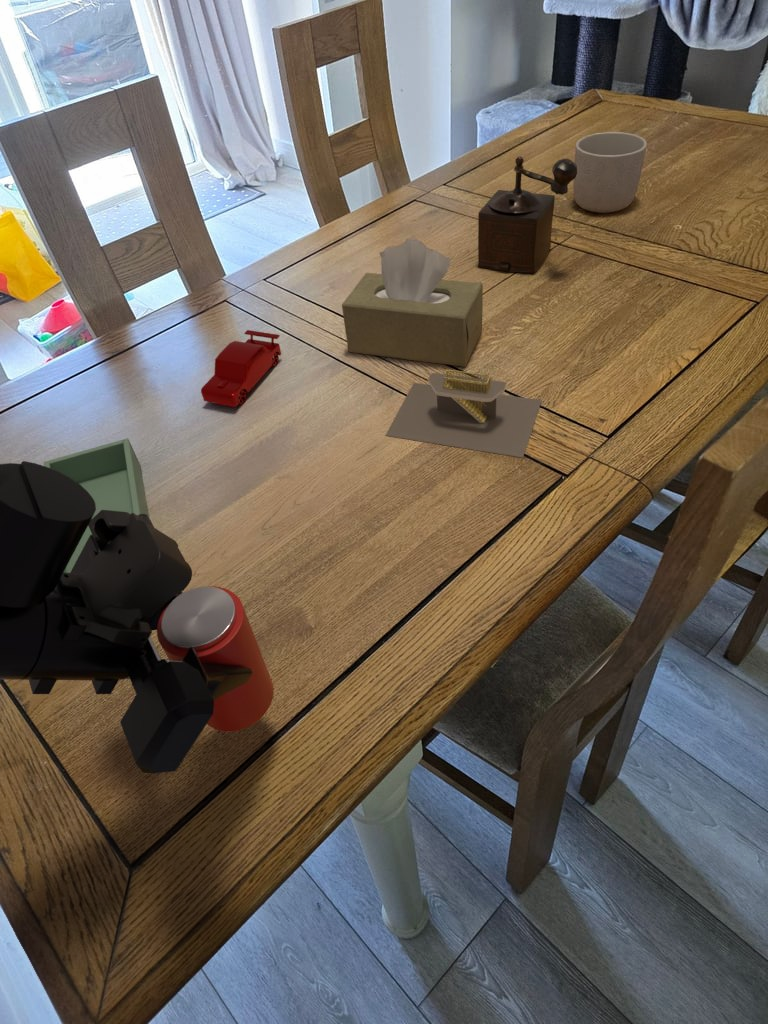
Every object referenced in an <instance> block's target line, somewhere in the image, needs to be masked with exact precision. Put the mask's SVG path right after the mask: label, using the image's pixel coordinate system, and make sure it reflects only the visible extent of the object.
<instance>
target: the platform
mask: <svg viewBox="0 0 768 1024" xmlns="http://www.w3.org/2000/svg"><path fill="white" fill-rule="evenodd" d="M491 377H492V376H491V374H484V373H478V372H470V371H462V370H454V369H445V373H438V372H431V373H430V374H429V376H428V379H427V381H428V382H427V383H428V384H425V383H419V382H413V383H412V385H411V388H410V389H409V391H408V393H407V395H406V396H405V398H404V400H403V401H402V404H401V406H400V407H399V410H398V411H397V413H396V415H395V417H394V419H393V420H392V422H391V424H390V426H389V428H388V430H387V431H386V434H385V436H387V437H392V438H399V439H404V440H411V441H416V442H422V443H423V442H424V443H430V444H436V445H442V446H447V447H454V448H462V449H467V450H472V451H480V452H485V453H491V454H498V455H504V456H509V457H515V458H516V457H517V458H522V459H523V458H524V456H525V453H526V450H527V447H528V445H529V441H530V438H531V435H532V432H533V429H534V426H535V422H536V420H537V416H538V413H539V411H540V408H541V405H542V401H543V400H542V399H536V398H529V397H522V396H514V395H506V394H504V393H505V390H506V388H507V383H506V382H505V381H500V380H493V379H491Z"/></svg>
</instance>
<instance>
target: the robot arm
mask: <svg viewBox="0 0 768 1024" xmlns="http://www.w3.org/2000/svg"><path fill="white" fill-rule="evenodd" d="M95 511H96V505H95V501H94V499H93V498H92V496H91V495H90V494H89V493H88V491H87V490H86V489H84V488H83V487H82V486H81V485H80V484H79V483H77V482H76V481H74V480H73V479H71V478H70V477H68V476H66V475H64V474H62V473H60V472H58V471H56V470H53V469H51V468H48V467H46V466H44V465H42V464H39V463H37V462H32V461H31V462H30V461H26V460H23V461H21V463H16V462H9V463H8V462H7V463H0V680H9V681H10V680H11V681H12V680H15V681H16V680H18V681H28V683H29V686H30V690H31V693H32V695H50V694H51V692H52V690H53V688H54V686H55V684H56V683H57V681H87V682H88V681H89V682H91V684H92V686H93V689H94V692H95V694H96V695H111V694H112V693H113V691H114V689H115V688H116V686H117V684H118V682H119V681H120V680H121V681H123V680H130V682H131V685H132V687H133V690H134V692H135V696H134V698H133V699H132V701H131V703H130V704H129V706H128V708H127V709H126V711H125V712H124V714H123V716H122V717H121V719H120V721H119V723H120V726H121V728H122V730H123V734H124V736H125V739H126V742H127V744H128V747H129V749H130V752H131V755H132V757H133V760H134V763H135V764H136V766H137V768H138V769H139V770H140V771H141V772H142V773H143V774H162V773H171V772H172V773H173V772H176V771H177V770H178V769H179V767H180V766H181V764H182V763H183V761H184V759H185V758H186V756H187V755H188V753H189V752H190V750H191V748H192V747H194V745H195V743H196V741H197V739H198V738H199V737H200V734H201V733H202V732H203V731H204V729H205V728H206V726H207V723H208V721H209V720H210V718H211V716H212V715H213V708H214V700H215V699H217V698H218V697H220V696H222V695H224V694H226V693H228V692H229V691H231V690H233V689H235V688H237V687H239V686H240V685H242V684H244V683H246V682H247V681H248V680H249V678H250V677H251V675H252V673H253V672H252V670H251V669H250V668H246V667H242V666H237V665H227V664H217V663H207V662H201V661H200V660H199V658H198V656H197V654H196V652H195V650H194V648H193V647H190V649H189V650H188V652H187V653H186V655H185V657H184V658H183V660H182V661H170V660H169V659H168V658H162V657H161V656H160V653H159V651H158V649H157V646H156V645H155V642H154V640H153V638H152V636H151V635H152V633H153V631H157V625H158V621H159V619H160V616H161V614H162V613H163V611H164V610H165V608H166V607H167V606H168V605H169V604H170V603H171V602H172V601H173V600H174V599H175V598H176V597H178V596H179V595H180V594H182V593H183V592H184V590H186V588H187V587H188V586H189V584H190V583H191V581H192V577H193V570H192V567H191V566H190V564H189V562H187V561H186V559H185V557H184V555H183V554H182V551H181V549H180V548H179V543H178V542H177V541H176V540H175V539H173V538H171V537H170V536H168V535H167V534H165V533H163V532H162V531H161V530H160V529H159V530H158V529H157V528H155V526H154V524H153V523H152V520H151V519H150V516H149V517H148V515H146V514H139V515H136V514H134V513H131V514H130V513H128V512H121V511H111V510H101V511H100V512H99V513H98V514H97V515H96V516H95V517H94V518H92V517H93V515H94V513H95ZM88 526H89V528H90V531H91V533H92V535H90V536H89V538H88V540H87V542H86V544H85V546H84V548H83V549H82V551H81V553H80V555H79V557H78V559H77V561H76V563H75V565H74V566H73V568H72V570H71V572H70V573H66V572H64V570H65V568H66V566H67V565H68V563H69V561H70V559H71V557H72V555H73V553H74V551H75V549H76V547H77V546H78V544H79V542H80V540H81V538H82V536H83V534H84V532H85V530H86V528H87V527H88Z"/></svg>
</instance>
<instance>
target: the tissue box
mask: <svg viewBox="0 0 768 1024" xmlns="http://www.w3.org/2000/svg"><path fill="white" fill-rule="evenodd" d="M378 253H379V256H380V258H381V260H380V264H381V265H380V266H381V267H380V268H381V273H375V272H374V273H373V272H366V273H364V275H363V276H362V277H361V278H360V280H359V281H358V283H357V284H356V285H355V286H354V288H353V289H352V291H351V292H350V293H349V294H348V296H347V297H346V299H344V301H343V302H342V304H341V309H342V316H343V323H344V324H343V325H344V330H345V336H346V337H345V338H346V344H347V351H348V352H349V353H353V354H362V355H370V356H377V357H378V356H379V357H385V358H386V357H387V358H393V359H399V360H400V359H401V360H408V361H416V362H425V363H431V364H438V365H439V364H440V365H447V366H455V367H461V368H463V367H466V366H467V364H468V362H469V359H470V357H471V356H472V353H473V351H474V349H475V347H476V345H477V344H478V341H479V339H480V338H481V337H480V336H481V335H482V332H483V310H484V309H483V308H484V307H483V304H484V303H483V301H484V300H483V299H484V298H483V296H484V295H483V294H484V293H483V292H484V285H483V283H482V282H475V281H474V282H472V281H462V280H451V279H443V278H445V276H446V275H447V272H448V270H449V267H450V265H451V262H452V258H450V257H446V256H445V255H444V254H443V253H442V252H440V251H438V250H436V249H433V248H430V247H428V246H427V245H426V244H425V243H424V242H422V241H421V240H419V239H417V238H411V237H410V238H406V239H405V241H404V242H402V243H400V244H398V245H390V246H387V247H385V248H384V250H383V251H380V252H378Z"/></svg>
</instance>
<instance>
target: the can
mask: <svg viewBox="0 0 768 1024" xmlns="http://www.w3.org/2000/svg"><path fill="white" fill-rule="evenodd" d="M245 610H246V609H245V607H244V605H243V602H242V601H241V599H240V598H239V596H238V595H237V594H236V593H234V592H233V591H232V590H229V589H228V588H225V587H223V586H222V587H221V586H216V585H206V586H197V587H194V588H191V589H188V590H186V591H183V592H182V594H180V595H179V596H178V597H176V598H175V599H174V600H173V601H172V602H171V603H170V604H169V605H168V606H167V607H166V608H165V610H164V611H163V613H162V614H161V616H160V619H159V621H158V625H157V630H156V636H157V640H158V642H159V645H160V646H161V648H162V650H163V652H164V653H165V656H166V657H167V659H169V660H170V661H182V660H183V658H184V657H185V655H186V653H187V652H188V650H189V649H190V647H193V648H194V650H195V652H196V654H197V656H198V658H199V660H200V661H201V662H207V663H217V664H227V665H237V666H242V667H246V668H250V669H251V670H252V672H253V673H252V675H251V677H250V678H249V680H248V681H247V682H246V683H244V684H242V685H240V686H239V687H237V688H235V689H233V690H231V691H229V692H228V693H226V694H224V695H222V696H220V697H218V698H217V699H215V700H214V708H213V715H212V716H211V718H210V720H209V721H208V723H207V724H206V726H208V727H210V728H212V729H214V730H216V731H219V732H226V733H230V732H231V733H232V732H238V731H241V730H245V729H247V728H249V727H251V726H253V725H254V724H255V723H257V722H258V721H260V720H261V719H262V718H263V717H264V715H266V713H267V712H268V710H269V708H270V707H271V704H272V702H273V698H274V691H275V689H274V682H273V680H272V677H271V675H270V672H269V669H268V667H267V665H266V662H265V659H264V657H263V655H262V652H261V649H260V646H259V643H258V641H257V639H256V636H255V634H254V632H253V628H252V626H251V623H250V620H249V618H248V616H247V613H246V611H245Z"/></svg>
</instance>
